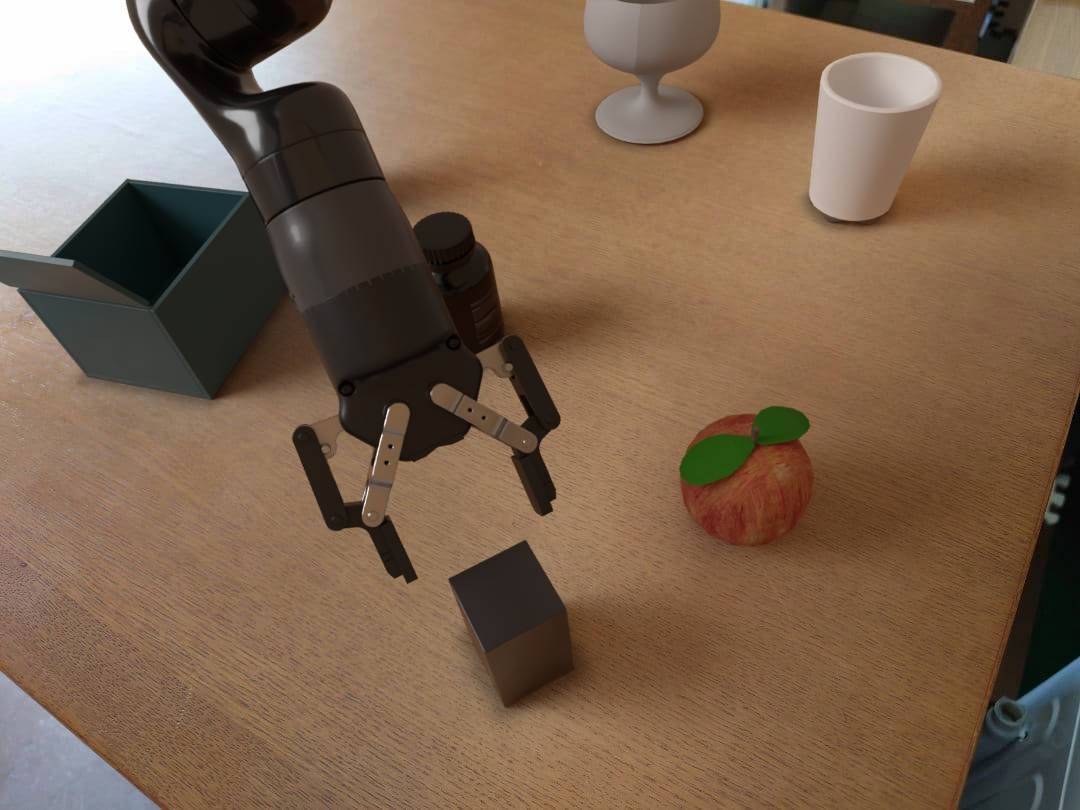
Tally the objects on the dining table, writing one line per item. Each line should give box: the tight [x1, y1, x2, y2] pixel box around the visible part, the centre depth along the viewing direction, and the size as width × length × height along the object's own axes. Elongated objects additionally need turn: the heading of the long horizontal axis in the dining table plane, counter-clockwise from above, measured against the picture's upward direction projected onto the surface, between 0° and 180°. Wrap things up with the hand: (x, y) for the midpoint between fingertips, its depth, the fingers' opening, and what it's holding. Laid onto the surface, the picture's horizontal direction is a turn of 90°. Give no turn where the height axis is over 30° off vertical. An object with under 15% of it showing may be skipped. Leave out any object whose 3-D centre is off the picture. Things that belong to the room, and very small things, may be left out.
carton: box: [16, 178, 288, 400], centre depth 68 cm, size 15×13×10 cm
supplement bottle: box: [412, 210, 506, 354], centre depth 64 cm, size 7×7×12 cm
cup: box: [808, 51, 944, 226], centre depth 71 cm, size 10×10×13 cm
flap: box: [0, 249, 149, 308], centre depth 56 cm, size 7×13×1 cm
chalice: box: [583, 0, 722, 145], centre depth 83 cm, size 14×14×15 cm
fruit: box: [678, 405, 815, 548], centre depth 51 cm, size 9×10×10 cm
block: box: [447, 539, 576, 709], centre depth 47 cm, size 5×5×9 cm
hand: (479, 544), depth 45 cm, fingers open, 8 cm apart
